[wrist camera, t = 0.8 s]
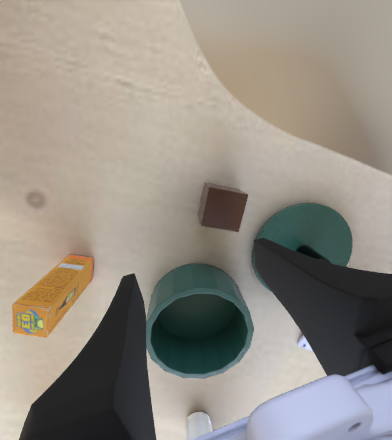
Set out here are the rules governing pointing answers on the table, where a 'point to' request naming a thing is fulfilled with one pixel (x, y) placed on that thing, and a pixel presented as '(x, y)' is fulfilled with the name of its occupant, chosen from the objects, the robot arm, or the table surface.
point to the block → (222, 207)
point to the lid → (310, 233)
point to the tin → (197, 322)
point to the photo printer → (197, 425)
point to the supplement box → (52, 297)
